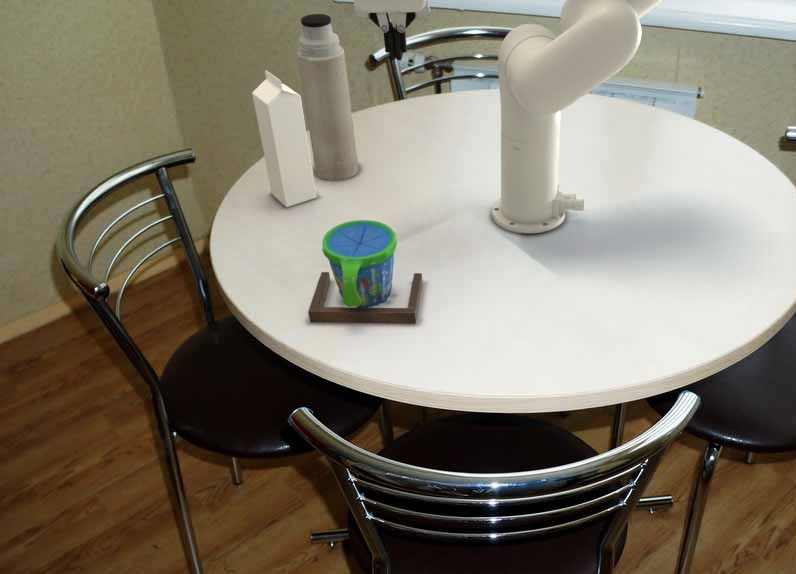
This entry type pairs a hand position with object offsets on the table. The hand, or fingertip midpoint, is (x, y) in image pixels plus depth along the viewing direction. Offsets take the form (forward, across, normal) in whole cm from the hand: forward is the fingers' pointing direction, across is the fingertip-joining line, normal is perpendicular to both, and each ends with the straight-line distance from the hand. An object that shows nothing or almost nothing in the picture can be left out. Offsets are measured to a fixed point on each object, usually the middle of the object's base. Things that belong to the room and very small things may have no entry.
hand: (396, 56), depth 123 cm
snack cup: (+29, -5, -20) cm, 36 cm away
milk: (+29, -22, +10) cm, 38 cm away
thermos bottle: (+29, -16, +20) cm, 39 cm away
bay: (+29, -5, -22) cm, 36 cm away
